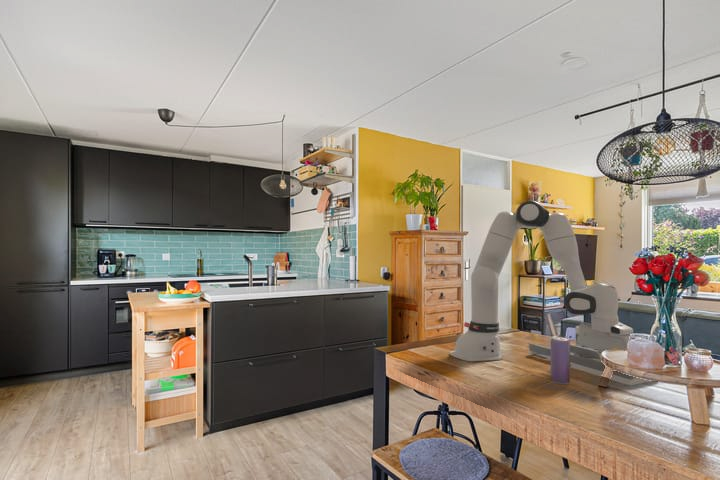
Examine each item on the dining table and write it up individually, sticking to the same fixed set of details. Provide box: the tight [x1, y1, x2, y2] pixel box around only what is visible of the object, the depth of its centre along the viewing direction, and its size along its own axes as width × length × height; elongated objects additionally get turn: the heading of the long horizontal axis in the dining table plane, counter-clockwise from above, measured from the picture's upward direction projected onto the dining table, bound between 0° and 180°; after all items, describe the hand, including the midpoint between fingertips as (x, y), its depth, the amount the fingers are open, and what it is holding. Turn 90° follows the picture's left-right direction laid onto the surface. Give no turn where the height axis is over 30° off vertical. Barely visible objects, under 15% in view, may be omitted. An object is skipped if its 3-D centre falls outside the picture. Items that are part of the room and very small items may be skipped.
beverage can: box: [550, 336, 571, 385], centre depth 133 cm, size 6×6×15 cm
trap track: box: [528, 342, 651, 387], centre depth 153 cm, size 16×42×6 cm, turn 25°
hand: (605, 362), depth 146 cm, fingers closed
